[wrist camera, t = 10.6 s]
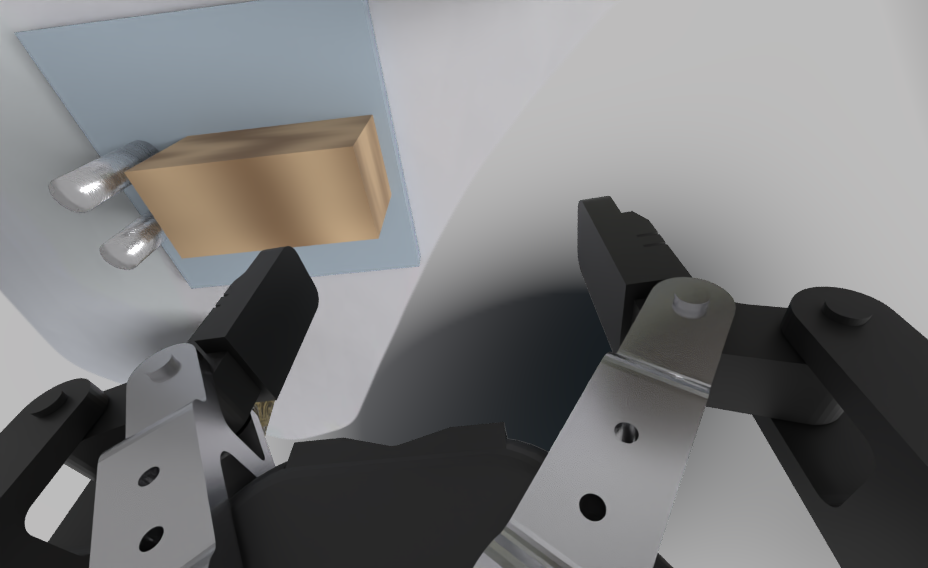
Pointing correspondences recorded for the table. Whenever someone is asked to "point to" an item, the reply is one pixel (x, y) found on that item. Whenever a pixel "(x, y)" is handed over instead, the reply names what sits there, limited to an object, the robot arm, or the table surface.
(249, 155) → the flange bar
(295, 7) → the base board
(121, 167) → the dowel pins
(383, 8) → the table surface
